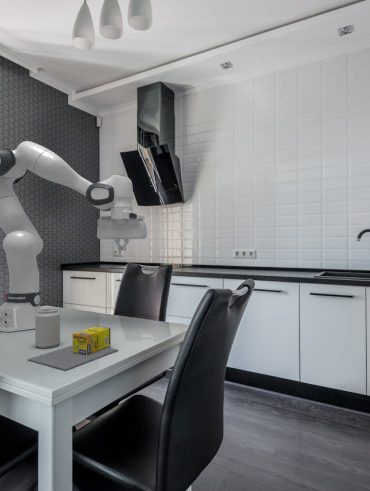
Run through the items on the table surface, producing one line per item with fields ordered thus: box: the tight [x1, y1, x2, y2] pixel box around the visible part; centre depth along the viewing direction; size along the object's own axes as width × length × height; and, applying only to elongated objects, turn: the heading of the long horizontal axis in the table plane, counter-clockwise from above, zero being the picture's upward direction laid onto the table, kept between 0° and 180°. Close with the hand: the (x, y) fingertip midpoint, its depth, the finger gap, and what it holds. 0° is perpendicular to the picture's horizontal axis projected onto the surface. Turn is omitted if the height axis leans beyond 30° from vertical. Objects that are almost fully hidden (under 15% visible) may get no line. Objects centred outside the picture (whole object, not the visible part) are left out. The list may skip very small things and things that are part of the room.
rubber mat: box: [27, 344, 119, 372], centre depth 100 cm, size 20×16×1 cm
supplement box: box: [72, 325, 112, 355], centre depth 105 cm, size 6×6×11 cm
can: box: [34, 307, 61, 349], centre depth 111 cm, size 8×8×12 cm
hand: (121, 250), depth 134 cm, fingers closed
